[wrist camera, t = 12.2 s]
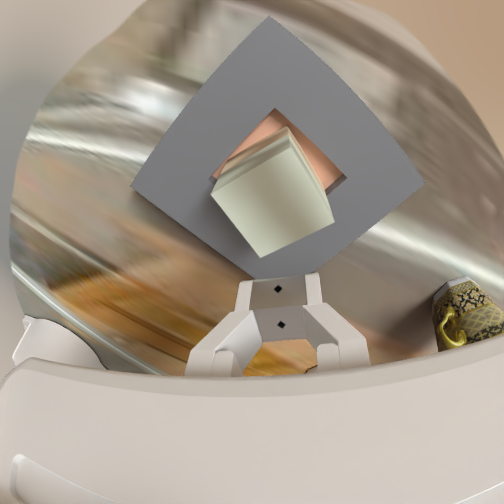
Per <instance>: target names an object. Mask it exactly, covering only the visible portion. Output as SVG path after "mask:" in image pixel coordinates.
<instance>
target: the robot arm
mask: <svg viewBox="0 0 504 504" xmlns="http://www.w3.org/2000/svg"><path fill="white" fill-rule="evenodd" d="M22 321H23V326H24V330H25V333H24V335H23V337H22V338H21V340H20V342H19V344H18V346H17V348H16V350H15V352H14V354H13V356H12V358H13V363H14V366H15V368H14V369H12V370H11V371H10V372H9V373H8V374H7V375H6V376H5V377H4V379H3V380H2V381H1V383H0V504H504V334H501V335H498V336H495V337H492V338H488V339H485V340H482V341H479V342H475V343H472V344H468V345H465V346H461V347H457V348H454V349H450V350H446V351H442V352H438V353H433V354H429V355H425V356H420V357H415V358H410V359H405V360H400V361H395V362H389V363H384V364H378V365H371V364H370V359H369V353H368V348H367V343H366V338H365V337H364V336H363V335H362V334H361V333H359V332H358V331H357V330H356V329H355V328H354V327H353V326H352V325H351V324H349V323H348V322H347V321H346V320H345V319H344V318H343V317H342V316H341V315H339V314H338V313H337V312H336V311H335V310H334V309H333V308H332V307H330V306H329V305H328V304H327V303H322V295H321V287H320V279H319V274H318V273H312V274H305V275H299V276H290V277H282V278H271V279H259V280H250V281H241V282H240V283H239V287H238V293H237V298H236V304H235V309H234V312H230V313H229V314H228V315H227V316H226V317H225V318H224V319H223V320H222V321H221V322H220V323H219V324H218V325H217V326H216V327H215V328H213V329H212V330H211V331H210V332H209V333H208V334H207V335H206V336H205V337H204V338H203V339H202V340H201V341H200V342H199V343H198V344H197V345H196V346H195V347H194V348H193V349H192V350H191V352H190V355H189V359H188V362H187V366H186V370H185V373H184V376H169V375H154V374H141V373H130V372H121V371H112V370H107V369H106V368H105V367H104V366H103V365H102V364H101V363H100V361H99V359H98V357H97V355H96V354H95V353H94V351H93V350H92V349H91V348H90V347H89V346H88V345H87V344H86V343H85V342H84V341H83V340H81V339H80V338H79V337H78V336H76V335H75V334H74V333H72V332H71V331H69V330H68V329H66V328H64V327H63V326H61V325H59V324H57V323H55V322H52V321H49V320H46V319H35V318H32V317H30V316H27V315H25V316H24V318H23V319H22ZM294 339H307V340H308V341H309V343H310V344H311V345H312V346H313V348H314V349H315V350H316V352H317V362H318V372H316V373H305V374H293V375H277V376H254V377H244V374H243V370H244V369H245V368H246V366H247V365H248V364H249V362H250V361H251V359H252V358H253V357H254V355H255V354H256V353H257V351H258V350H259V348H260V347H261V346H262V344H263V342H271V341H280V340H294Z"/></svg>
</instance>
